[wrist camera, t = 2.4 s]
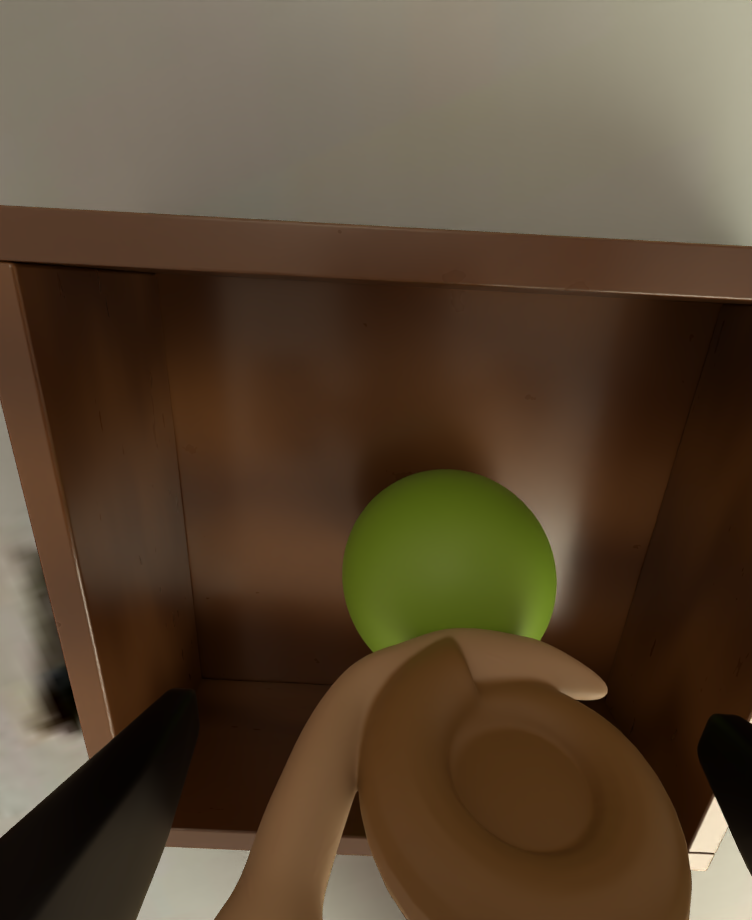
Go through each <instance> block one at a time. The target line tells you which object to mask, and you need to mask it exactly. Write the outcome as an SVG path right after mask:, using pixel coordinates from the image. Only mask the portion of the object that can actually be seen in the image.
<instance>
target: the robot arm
mask: <svg viewBox="0 0 752 920" xmlns="http://www.w3.org/2000/svg"><path fill="white" fill-rule="evenodd" d="M199 728H200V721H199V713H198V704H197V696H196V692H195V691H194V690H193V689H187V688H172V689H169V690H168V691H166V692H165V693H164V694H163V695H162V696H161V697H159V698H158V699H157V700H156V701H155V702H154V703H153V704H152V705H150V706H149V707H148V708H147V709H146V710H145V711H144V712H142V713H141V714H140V715H139V716H138V717H137V718H136V719H135V720H133V721H132V722H131V723H130V724H129V725H128V726H127V727H125V728H124V729H123V730H122V731H121V732H120V733H119V734H118V735H116V736H115V737H114V738H113V739H112V740H111V741H110V742H109V743H107V744H106V745H105V746H104V747H103V748H102V749H101V750H99V751H98V752H97V753H96V754H95V755H94V756H93V757H92V758H90V759H89V760H88V761H87V762H86V763H85V764H84V765H82V766H81V767H80V768H79V769H78V770H77V771H76V772H75V773H73V774H72V775H71V776H70V777H69V778H68V779H67V780H65V781H64V782H63V783H62V784H61V785H60V786H59V787H58V788H56V789H55V790H54V791H53V792H52V793H51V794H50V795H49V796H47V797H46V798H45V799H44V800H43V801H42V802H41V803H39V804H38V805H37V806H36V807H35V808H34V809H33V810H32V811H30V812H29V813H28V814H27V815H26V816H25V817H24V818H22V819H21V820H20V821H19V822H18V823H17V824H16V825H15V826H13V827H12V828H11V829H10V830H9V831H8V832H7V833H6V834H4V835H3V836H2V837H1V838H0V920H136V919H137V916H138V914H139V911H140V909H141V906H142V904H143V901H144V899H145V896H146V893H147V891H148V888H149V886H150V883H151V881H152V878H153V876H154V873H155V871H156V868H157V866H158V863H159V861H160V858H161V855H162V853H163V850H164V847H165V845H166V842H167V839H168V836H169V833H170V829H171V826H172V823H173V820H174V816H175V813H176V810H177V806H178V803H179V800H180V796H181V793H182V789H183V786H184V783H185V779H186V776H187V773H188V769H189V766H190V762H191V759H192V756H193V752H194V749H195V746H196V742H197V739H198V734H199ZM697 754H698V759H699V762H700V764H701V767H702V769H703V771H704V773H705V776H706V778H707V780H708V782H709V784H710V787H711V789H712V791H713V793H714V796H715V798H716V800H717V802H718V805H719V807H720V809H721V811H722V813H723V816H724V818H725V820H726V822H727V825H728V827H729V829H730V831H731V834H732V836H733V838H734V840H735V842H736V845H737V847H738V849H739V851H740V853H741V855H742V858H743V860H744V862H745V864H746V866H747V868H748V870H749V872H750V874H751V876H752V724H751V723H750V722H748V721H747V720H745V719H744V718H742V717H740V716H738V715H733V714H713V715H711V716H710V717H709V719H708V721H707V723H706V726H705V728H704V731H703V733H702V735H701V738H700V740H699V743H698V746H697Z"/></svg>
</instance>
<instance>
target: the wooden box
mask: <svg viewBox="0 0 752 920" xmlns="http://www.w3.org/2000/svg"><path fill="white" fill-rule="evenodd" d="M0 400H1V405H2V409H3V413H4V417H5V421H6V425H7V429H8V433H9V437H10V441H11V445H12V449H13V453H14V457H15V461H16V465H17V469H18V473H19V477H20V481H21V485H22V489H23V493H24V498H25V502H26V506H27V510H28V514H29V518H30V522H31V526H32V530H33V534H34V538H35V542H36V546H37V550H38V554H39V558H40V562H41V566H42V570H43V574H44V578H45V582H46V586H47V591H48V595H49V599H50V603H51V607H52V611H53V615H54V619H55V623H56V627H57V631H58V635H59V639H60V643H61V647H62V651H63V655H64V659H65V663H66V667H67V671H68V675H69V679H70V684H71V688H72V692H73V696H74V700H75V704H76V708H77V712H78V716H79V720H80V724H81V728H82V732H83V736H84V740H85V744H86V748H87V752H88V756H89V759H90V758H92V757H93V756H94V755H95V754H96V753H97V752H98V751H99V750H101V749H102V748H103V747H104V746H105V745H106V744H107V743H109V742H110V741H111V740H112V739H113V738H114V737H115V736H116V735H118V734H119V733H120V732H121V731H122V730H123V729H124V728H125V727H127V726H128V725H129V724H130V723H131V722H132V721H133V720H135V719H136V718H137V717H138V716H139V715H140V714H141V713H142V712H144V711H145V710H146V709H147V708H148V707H149V706H150V705H152V704H153V703H154V702H155V701H156V700H157V699H158V698H159V697H161V696H162V695H163V694H164V693H165V692H166V691H168V690H169V689H172V688H187V689H193V690H194V691H195V692H196V696H197V704H198V713H199V721H200V728H199V734H198V739H197V742H196V746H195V749H194V752H193V756H192V759H191V762H190V766H189V769H188V773H187V776H186V779H185V783H184V786H183V789H182V793H181V796H180V800H179V803H178V806H177V810H176V813H175V816H174V820H173V823H172V826H171V829H170V833H169V836H168V839H167V842H166V845H165V847H185V848H207V849H229V850H251V848H252V845H253V842H254V839H255V836H256V834H257V831H258V828H259V825H260V822H261V820H262V817H263V815H264V812H265V810H266V807H267V805H268V803H269V800H270V798H271V796H272V794H273V791H274V789H275V787H276V785H277V782H278V780H279V778H280V776H281V774H282V772H283V769H284V767H285V765H286V763H287V761H288V758H289V756H290V754H291V752H292V750H293V748H294V746H295V744H296V742H297V740H298V738H299V736H300V734H301V732H302V730H303V728H304V726H305V725H306V723H307V721H308V719H309V718H310V716H311V714H312V713H313V711H314V710H315V708H316V707H317V705H318V704H319V702H320V701H321V699H322V698H323V696H324V695H325V694H326V692H327V691H328V690H329V689H330V687H331V686H332V685H333V684H334V682H335V681H336V680H337V679H338V678H339V677H340V676H341V675H342V674H343V673H344V672H345V671H346V670H347V669H348V668H349V667H350V666H352V665H353V664H354V663H356V662H357V661H358V660H360V659H362V658H363V657H365V656H367V655H369V654H371V653H373V651H372V650H371V649H370V648H369V647H368V646H367V644H366V643H365V642H364V640H363V639H362V637H361V636H360V634H359V633H358V631H357V629H356V627H355V625H354V623H353V621H352V619H351V617H350V614H349V611H348V608H347V605H346V601H345V597H344V591H343V582H342V566H343V557H344V552H345V548H346V544H347V541H348V538H349V535H350V532H351V530H352V528H353V526H354V524H355V522H356V520H357V519H358V517H359V515H360V514H361V513H362V511H363V510H364V508H365V507H366V506H367V505H368V504H369V502H370V501H371V500H372V499H373V498H374V497H375V496H376V495H378V494H379V493H380V492H381V491H382V490H384V489H385V488H387V487H388V486H390V485H391V484H393V483H395V482H396V481H398V480H400V479H402V478H404V477H407V476H409V475H412V474H415V473H419V472H423V471H428V470H436V469H454V470H462V471H467V472H472V473H475V474H479V475H482V476H484V477H487V478H489V479H491V480H493V481H495V482H497V483H499V484H501V485H502V486H504V487H505V488H507V489H508V490H510V491H511V492H512V493H514V494H515V495H516V496H517V497H518V498H519V499H521V500H522V501H523V502H524V503H525V505H526V506H527V507H528V508H529V509H530V510H531V511H532V513H533V514H534V515H535V517H536V518H537V520H538V521H539V523H540V524H541V526H542V528H543V530H544V532H545V534H546V536H547V538H548V541H549V543H550V546H551V549H552V552H553V556H554V561H555V567H556V577H557V589H556V599H555V604H554V609H553V613H552V616H551V619H550V622H549V624H548V626H547V629H546V631H545V633H544V635H543V636H542V638H541V640H540V641H542V642H545V643H547V644H549V645H551V646H553V647H555V648H557V649H559V650H561V651H563V652H565V653H566V654H568V655H570V656H571V657H573V658H575V659H576V660H578V661H579V662H581V663H582V664H584V665H585V666H587V667H588V668H590V669H591V670H592V671H594V672H595V673H596V674H597V675H598V676H599V677H600V678H601V679H602V680H603V681H604V682H605V684H606V686H607V689H608V691H607V694H606V695H605V696H604V697H602V698H600V699H596V700H577V701H579V702H580V703H582V704H584V705H585V706H587V707H589V708H590V709H592V710H594V711H595V712H597V713H598V714H599V715H601V716H602V717H604V718H605V719H606V720H607V721H609V722H610V723H611V724H612V725H614V726H615V727H616V728H617V729H618V730H619V731H620V732H621V733H622V734H623V735H624V736H625V737H626V738H627V739H628V740H629V741H630V742H631V743H632V744H633V745H634V746H635V747H636V748H637V749H638V750H639V752H640V753H641V754H642V756H643V757H644V758H645V760H646V761H647V762H648V764H649V765H650V766H651V768H652V769H653V770H654V772H655V773H656V775H657V776H658V778H659V780H660V781H661V783H662V785H663V787H664V789H665V791H666V792H667V794H668V796H669V798H670V800H671V802H672V804H673V806H674V808H675V811H676V813H677V816H678V819H679V822H680V825H681V828H682V830H683V833H684V837H685V840H686V844H687V849H688V855H689V862H690V869H691V870H695V871H706V870H707V869H708V867H709V865H710V863H711V861H712V859H713V857H714V855H715V854H714V853H715V852H716V851H717V849H718V847H719V845H720V843H721V841H722V839H723V837H724V835H725V833H726V831H727V829H728V825H727V822H726V820H725V818H724V816H723V813H722V811H721V809H720V807H719V805H718V802H717V800H716V798H715V796H714V793H713V791H712V789H711V787H710V784H709V782H708V780H707V778H706V776H705V773H704V771H703V769H702V767H701V764H700V762H699V759H698V754H697V746H698V743H699V740H700V738H701V735H702V733H703V731H704V728H705V726H706V723H707V721H708V719H709V717H710V716H711V715H713V714H733V715H738V716H740V717H742V718H744V719H745V720H747V721H748V722H750V723H751V724H752V246H737V245H719V244H701V243H683V242H664V241H646V240H628V239H610V238H591V237H573V236H555V235H536V234H518V233H500V232H482V231H463V230H445V229H427V228H409V227H390V226H372V225H354V224H335V223H317V222H299V221H281V220H262V219H244V218H226V217H208V216H189V215H171V214H153V213H134V212H116V211H98V210H80V209H61V208H43V207H25V206H7V205H0ZM336 854H340V855H362V856H373V855H372V853H371V850H370V847H369V845H368V841H367V837H366V833H365V829H364V824H363V820H362V815H361V810H360V802H359V792H358V791H357V792H356V794H355V796H354V799H353V802H352V805H351V808H350V811H349V814H348V817H347V820H346V823H345V827H344V830H343V833H342V836H341V839H340V843H339V846H338V849H337V853H336Z"/></svg>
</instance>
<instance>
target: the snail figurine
mask: <svg viewBox="0 0 752 920" xmlns="http://www.w3.org/2000/svg"><path fill="white" fill-rule="evenodd" d="M342 582H343V591H344V597H345V601H346V605H347V608H348V611H349V614H350V617H351V619H352V621H353V623H354V625H355V627H356V629H357V631H358V633H359V634H360V636H361V637H362V639H363V640H364V642H365V643H366V644H367V646H368V647H369V648H370V649H371V650H372V651H373V653H371V654H369V655H367V656H365V657H363V658H362V659H360V660H358V661H357V662H356V663H354V664H353V665H352V666H350V667H349V668H348V669H347V670H346V671H345V672H344V673H343V674H342V675H341V676H340V677H339V678H338V679H337V680H336V681H335V682H334V684H333V685H332V686H331V687H330V689H329V690H328V691H327V692H326V694H325V695H324V696H323V698H322V699H321V701H320V702H319V704H318V705H317V707H316V708H315V710H314V711H313V713H312V714H311V716H310V718H309V719H308V721H307V723H306V725H305V726H304V728H303V730H302V732H301V734H300V736H299V738H298V740H297V742H296V744H295V746H294V748H293V750H292V752H291V754H290V756H289V758H288V761H287V763H286V765H285V767H284V769H283V772H282V774H281V776H280V778H279V780H278V782H277V785H276V787H275V789H274V791H273V794H272V796H271V798H270V800H269V803H268V805H267V807H266V810H265V812H264V815H263V817H262V820H261V822H260V825H259V828H258V831H257V834H256V836H255V839H254V842H253V845H252V848H251V851H250V854H249V857H248V860H247V862H246V865H245V867H244V870H243V872H242V875H241V877H240V879H239V881H238V883H237V885H236V887H235V889H234V891H233V892H232V894H231V896H230V897H229V899H228V900H227V902H226V903H225V905H224V906H223V907H222V909H221V910H220V912H219V913H218V915H217V916H216V918H215V919H214V920H323V919H322V911H323V902H324V896H325V892H326V888H327V884H328V880H329V877H330V873H331V869H332V866H333V862H334V859H335V856H336V853H337V849H338V846H339V843H340V839H341V836H342V833H343V830H344V827H345V823H346V820H347V817H348V814H349V811H350V808H351V805H352V802H353V799H354V796H355V794H356V792H357V791H358V792H359V802H360V810H361V815H362V820H363V824H364V829H365V833H366V837H367V841H368V845H369V847H370V850H371V853H372V855H373V858H374V860H375V863H376V865H377V867H378V870H379V872H380V874H381V877H382V879H383V881H384V884H385V886H386V888H387V890H388V892H389V893H390V895H391V896H392V898H393V899H394V901H395V903H396V904H397V906H398V907H399V909H400V910H401V912H402V913H403V915H404V916H405V918H406V919H407V920H689V914H690V903H691V891H692V878H691V869H690V862H689V855H688V849H687V844H686V840H685V837H684V833H683V830H682V828H681V825H680V822H679V819H678V816H677V813H676V811H675V808H674V806H673V804H672V802H671V800H670V798H669V796H668V794H667V792H666V791H665V789H664V787H663V785H662V783H661V781H660V780H659V778H658V776H657V775H656V773H655V772H654V770H653V769H652V768H651V766H650V765H649V764H648V762H647V761H646V760H645V758H644V757H643V756H642V754H641V753H640V752H639V750H638V749H637V748H636V747H635V746H634V745H633V744H632V743H631V742H630V741H629V740H628V739H627V738H626V737H625V736H624V735H623V734H622V733H621V732H620V731H619V730H618V729H617V728H616V727H615V726H614V725H612V724H611V723H610V722H609V721H607V720H606V719H605V718H604V717H602V716H601V715H599V714H598V713H597V712H595V711H594V710H592V709H590V708H589V707H587V706H585V705H584V704H582V703H580V702H579V701H577V700H596V699H600V698H602V697H604V696H605V695H606V694H607V691H608V689H607V686H606V684H605V682H604V681H603V680H602V679H601V678H600V677H599V676H598V675H597V674H596V673H595V672H594V671H592V670H591V669H590V668H588V667H587V666H585V665H584V664H582V663H581V662H579V661H578V660H576V659H575V658H573V657H571V656H570V655H568V654H566V653H565V652H563V651H561V650H559V649H557V648H555V647H553V646H551V645H549V644H547V643H545V642H542V641H540V640H541V638H542V636H543V635H544V633H545V631H546V629H547V626H548V624H549V622H550V619H551V616H552V613H553V609H554V604H555V599H556V589H557V577H556V567H555V561H554V556H553V552H552V549H551V546H550V543H549V541H548V538H547V536H546V534H545V532H544V530H543V528H542V526H541V524H540V523H539V521H538V520H537V518H536V517H535V515H534V514H533V513H532V511H531V510H530V509H529V508H528V507H527V506H526V505H525V503H524V502H523V501H522V500H521V499H519V498H518V497H517V496H516V495H515V494H514V493H512V492H511V491H510V490H508V489H507V488H505V487H504V486H502V485H501V484H499V483H497V482H495V481H493V480H491V479H489V478H487V477H484V476H482V475H479V474H475V473H472V472H467V471H462V470H454V469H436V470H428V471H423V472H419V473H415V474H412V475H409V476H407V477H404V478H402V479H400V480H398V481H396V482H395V483H393V484H391V485H390V486H388V487H387V488H385V489H384V490H382V491H381V492H380V493H379V494H378V495H376V496H375V497H374V498H373V499H372V500H371V501H370V502H369V504H368V505H367V506H366V507H365V508H364V510H363V511H362V513H361V514H360V515H359V517H358V519H357V520H356V522H355V524H354V526H353V528H352V530H351V532H350V535H349V538H348V541H347V544H346V548H345V552H344V557H343V566H342Z"/></svg>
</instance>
